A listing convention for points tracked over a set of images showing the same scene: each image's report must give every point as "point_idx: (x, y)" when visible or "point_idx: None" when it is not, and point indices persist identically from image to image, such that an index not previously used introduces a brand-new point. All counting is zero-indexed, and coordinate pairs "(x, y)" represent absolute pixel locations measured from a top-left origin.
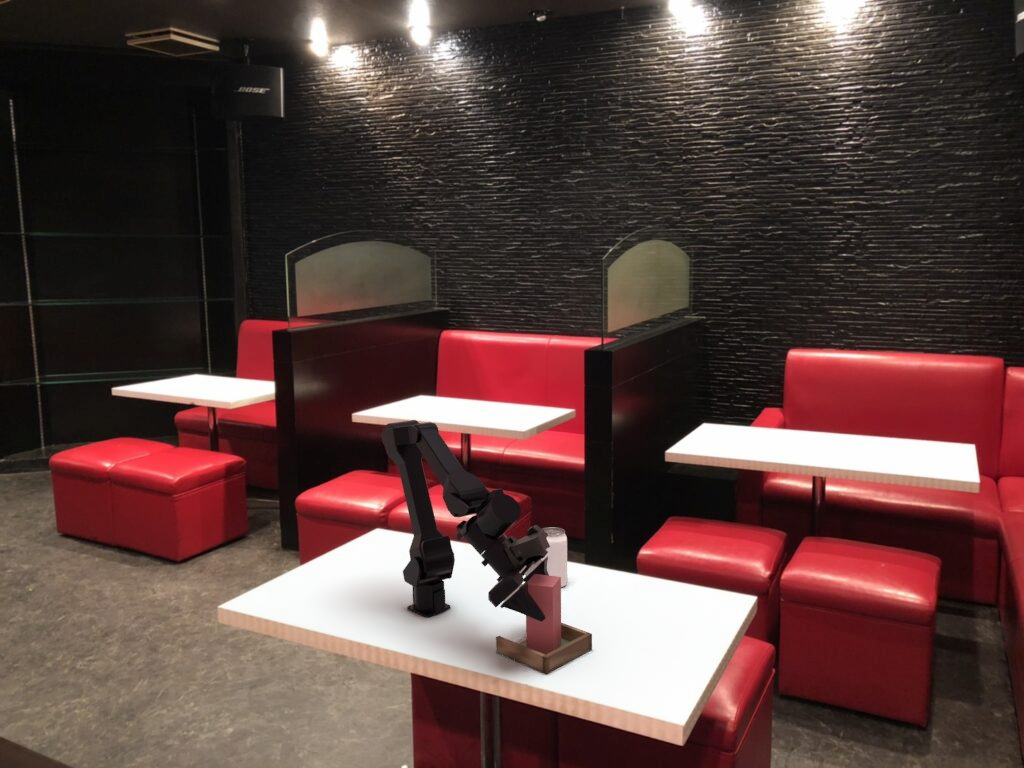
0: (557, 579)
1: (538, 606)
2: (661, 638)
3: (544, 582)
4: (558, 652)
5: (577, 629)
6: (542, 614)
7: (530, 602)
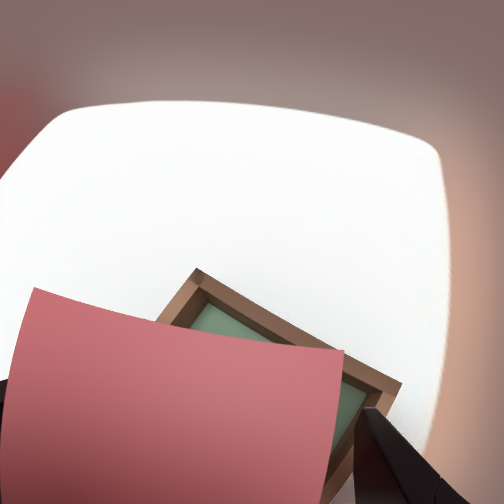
0: (80, 317)
1: (390, 456)
2: (151, 164)
3: (184, 483)
4: (348, 357)
5: (167, 315)
6: (388, 421)
7: (450, 496)
